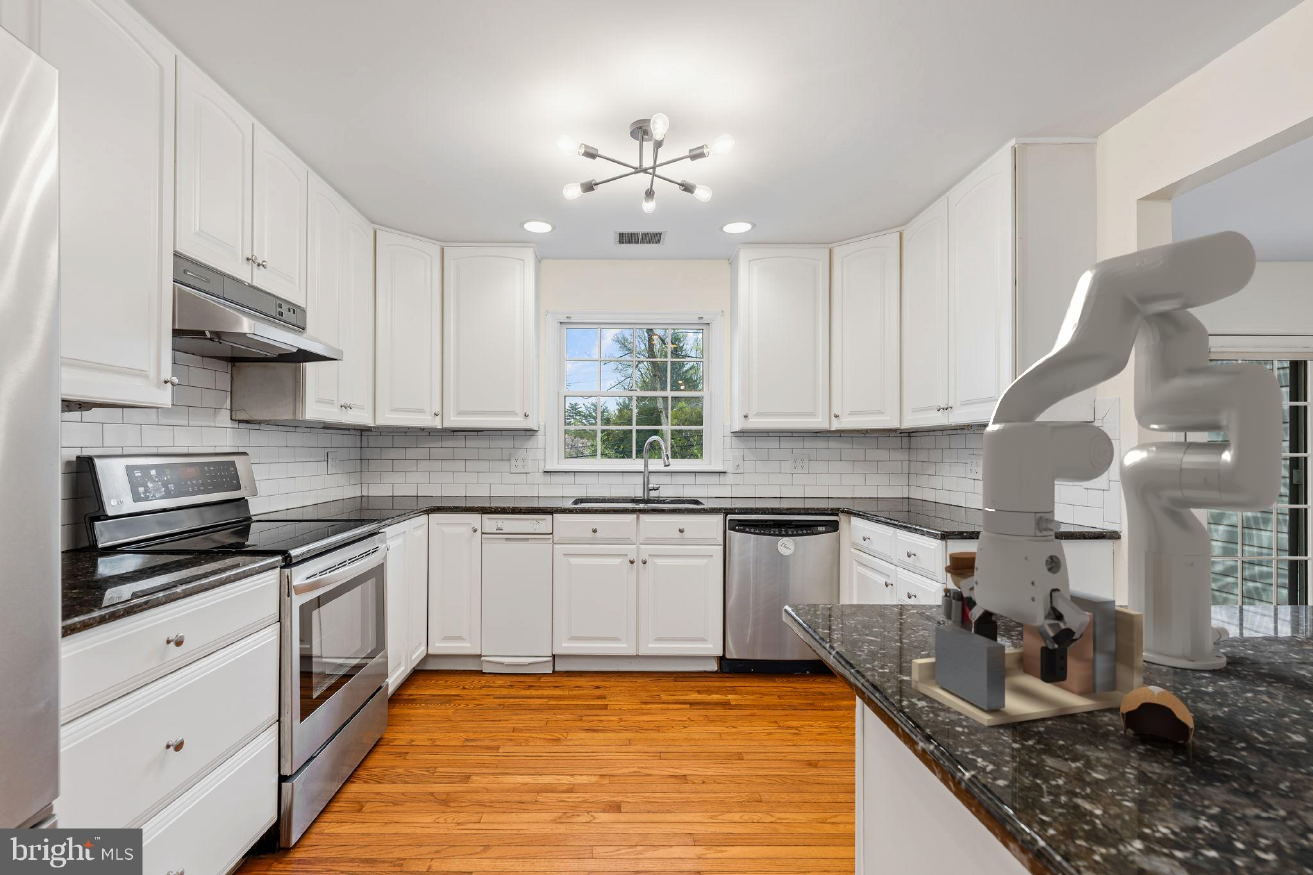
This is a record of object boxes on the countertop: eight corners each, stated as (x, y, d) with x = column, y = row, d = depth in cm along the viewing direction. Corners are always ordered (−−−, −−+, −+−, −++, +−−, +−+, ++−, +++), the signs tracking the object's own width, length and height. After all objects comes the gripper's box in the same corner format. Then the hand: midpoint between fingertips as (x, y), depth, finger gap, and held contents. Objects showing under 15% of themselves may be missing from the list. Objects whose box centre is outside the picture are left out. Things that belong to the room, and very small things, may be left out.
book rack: (1052, 669, 84) (1052, 581, 84) (1143, 705, 73) (1143, 603, 73) (911, 687, 78) (912, 591, 78) (986, 730, 66) (987, 617, 66)
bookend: (951, 680, 76) (952, 624, 76) (1005, 707, 68) (1005, 645, 68) (935, 683, 75) (935, 626, 75) (986, 710, 68) (987, 647, 68)
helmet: (1195, 796, 59) (1190, 722, 64) (1199, 757, 56) (1193, 683, 61) (1119, 776, 63) (1120, 707, 68) (1119, 738, 59) (1120, 669, 64)
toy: (1005, 670, 84) (1005, 561, 84) (952, 666, 85) (952, 559, 85) (979, 643, 95) (979, 547, 95) (932, 640, 96) (932, 545, 96)
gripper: (1112, 533, 67) (1112, 690, 67) (985, 515, 83) (985, 640, 83) (1058, 536, 65) (1058, 698, 64) (940, 516, 81) (939, 645, 81)
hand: (1017, 665), depth 74 cm, fingers open, 9 cm apart
